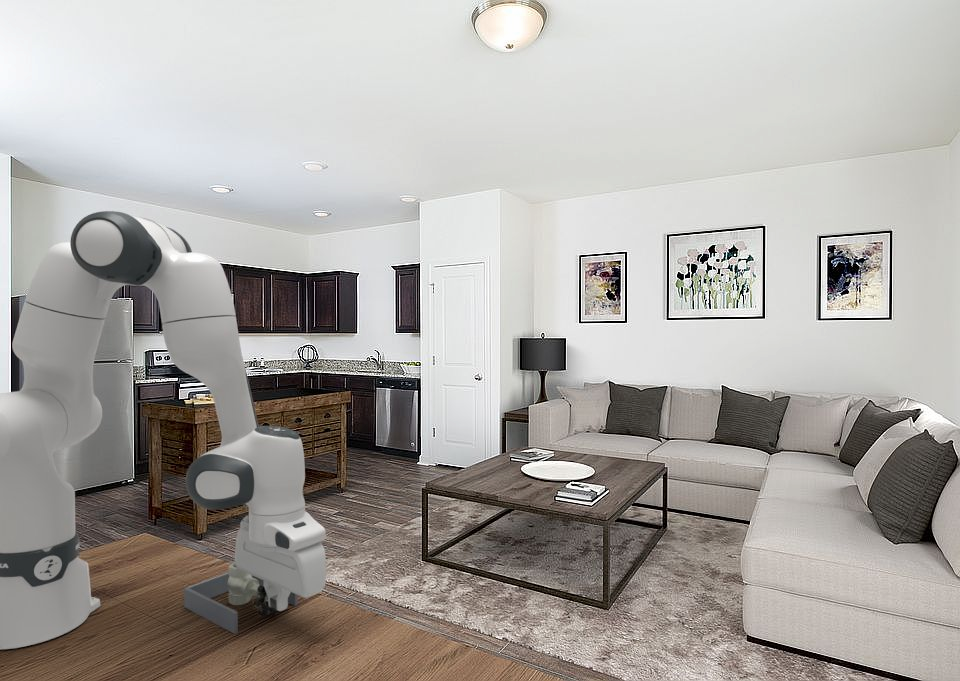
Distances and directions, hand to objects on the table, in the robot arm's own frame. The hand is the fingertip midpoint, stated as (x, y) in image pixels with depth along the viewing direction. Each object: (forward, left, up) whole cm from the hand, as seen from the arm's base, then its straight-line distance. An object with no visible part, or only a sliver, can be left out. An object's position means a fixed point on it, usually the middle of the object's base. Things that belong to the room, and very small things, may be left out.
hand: (278, 607), depth 97 cm
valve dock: (-10, 0, -3) cm, 11 cm away
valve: (-8, +1, -3) cm, 9 cm away
